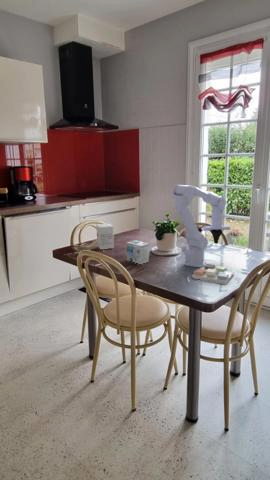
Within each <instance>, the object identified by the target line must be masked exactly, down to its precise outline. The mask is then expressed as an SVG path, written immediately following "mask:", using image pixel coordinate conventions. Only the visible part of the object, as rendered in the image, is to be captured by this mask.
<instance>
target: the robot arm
mask: <svg viewBox="0 0 270 480" xmlns="http://www.w3.org/2000/svg"><path fill="white" fill-rule="evenodd" d="M172 196H173V199H174V204H175V209H176V211H177V214H178V216H179V218H180V220H181V222H182V225H183V226H184V228H185V231H186V233H187V234H186V236H185V238H186V243H187V245H188V246H187V247H186V248H185V252H184V265H185V266H190V267H193V268H194V267H195V268H199V269H200V268H201V267H204V266H205V265H206V264H207V262H205V261H204V259H205V257H204V256H205V249H206V248H207V247H208V243H209V242H208V239H207V237H205V235H204V233H201V232H199V231H198V228H197V226H198V225H197V224H196V221H195V220H194V217H193V215H192V213H191V210H190V208H189V206H191V203H192V201H193V199H194V198H195V197H198V198H201V200H202V201H203V202H204V203H206V204H209V205H210V206H211V223H210V224H211V225H206V226H202V230H203V231H202V232H206V231H210V233H211V234H212V238H213V243H214V244H218V243H219V240H220V238H221V236H222V234H223V231H230V230H231V226H230V225H223V217H224V216H223V215H224V210H225V206H226V204H227V201H226V198H225V197H224V196H221V195H220V196H219V194H218V193H214V192H213V191H212V190H207V191H204V190H202V189H200V188H199V187H197V186H194V185H186V184H176V185H175V186H174V188H173V191H172Z"/></svg>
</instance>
